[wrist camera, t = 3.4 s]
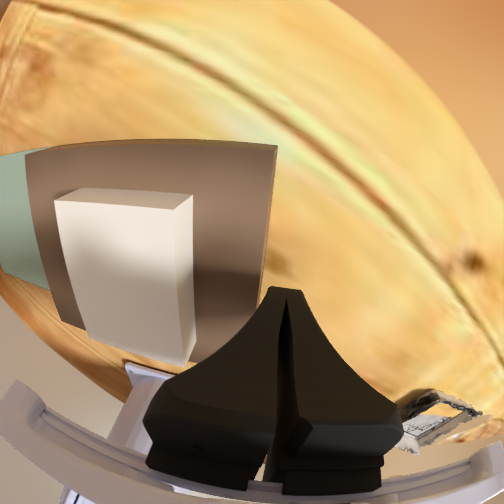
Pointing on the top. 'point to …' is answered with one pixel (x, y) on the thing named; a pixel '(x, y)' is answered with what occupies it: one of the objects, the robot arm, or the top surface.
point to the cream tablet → (132, 268)
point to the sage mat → (18, 223)
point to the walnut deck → (204, 217)
